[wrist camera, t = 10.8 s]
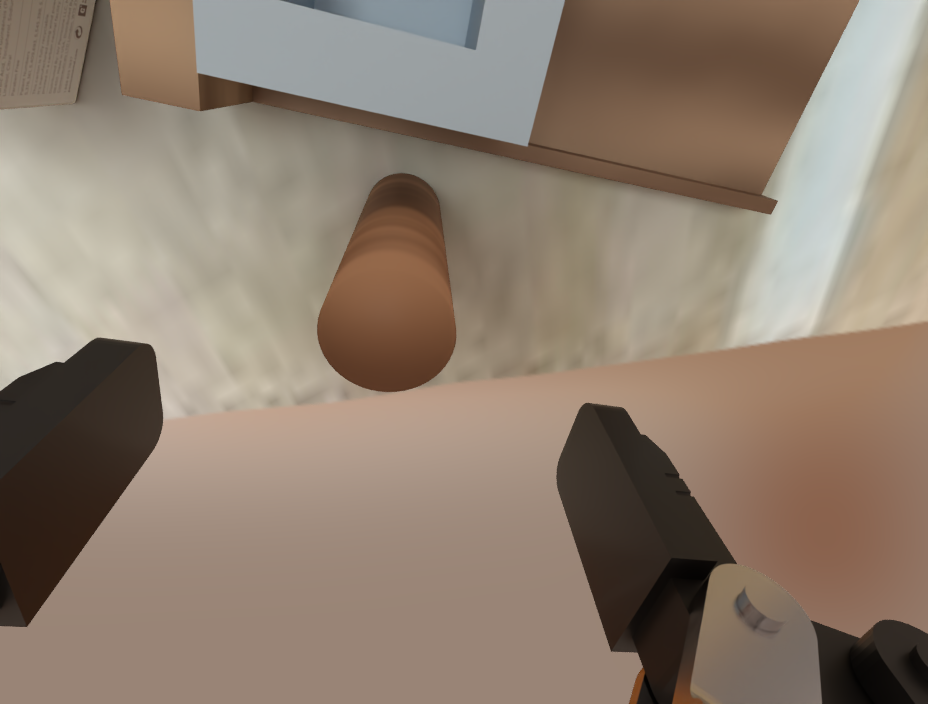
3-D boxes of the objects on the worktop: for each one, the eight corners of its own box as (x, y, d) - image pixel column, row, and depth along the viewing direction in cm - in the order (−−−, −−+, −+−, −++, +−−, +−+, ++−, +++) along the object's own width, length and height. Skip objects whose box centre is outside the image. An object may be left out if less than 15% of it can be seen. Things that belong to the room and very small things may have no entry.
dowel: (370, 166, 21) (321, 259, 11) (446, 181, 22) (469, 283, 11) (362, 240, 23) (313, 383, 12) (433, 253, 23) (442, 399, 13)
